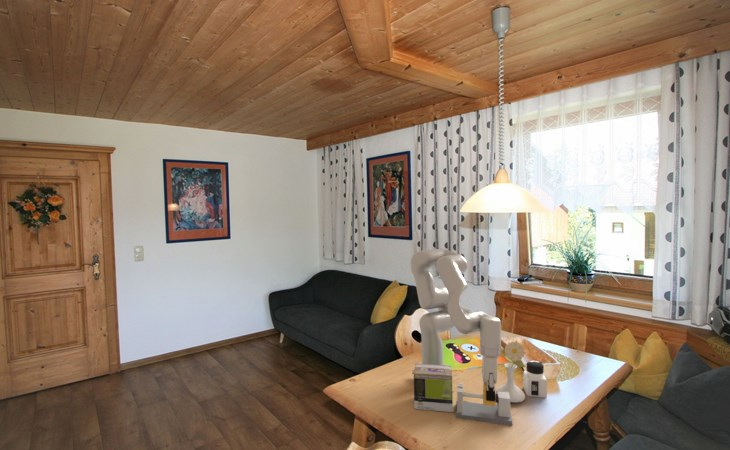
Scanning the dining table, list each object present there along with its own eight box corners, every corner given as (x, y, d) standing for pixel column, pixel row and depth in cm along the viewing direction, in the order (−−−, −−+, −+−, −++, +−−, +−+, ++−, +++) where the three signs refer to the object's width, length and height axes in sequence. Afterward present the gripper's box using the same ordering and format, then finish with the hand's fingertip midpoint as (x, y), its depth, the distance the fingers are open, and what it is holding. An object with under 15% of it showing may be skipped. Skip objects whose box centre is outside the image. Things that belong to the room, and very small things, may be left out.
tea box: (452, 400, 154) (452, 365, 153) (452, 413, 144) (452, 376, 144) (415, 396, 157) (415, 362, 156) (413, 409, 147) (413, 372, 147)
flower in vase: (489, 394, 158) (490, 336, 157) (510, 389, 163) (511, 332, 161) (513, 410, 146) (513, 347, 145) (534, 403, 151) (535, 342, 149)
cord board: (455, 417, 141) (455, 393, 141) (456, 404, 151) (456, 381, 150) (512, 425, 136) (512, 399, 136) (509, 410, 146) (509, 386, 145)
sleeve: (483, 404, 141) (483, 385, 141) (483, 399, 145) (483, 380, 145) (494, 406, 140) (494, 386, 140) (494, 400, 144) (494, 381, 144)
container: (546, 398, 155) (547, 367, 154) (527, 396, 156) (527, 366, 156) (542, 389, 162) (542, 359, 162) (523, 387, 164) (523, 358, 163)
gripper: (479, 341, 151) (479, 385, 152) (480, 358, 134) (480, 407, 135) (498, 342, 149) (498, 387, 150) (503, 360, 132) (502, 409, 133)
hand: (490, 396), depth 142 cm, fingers open, 5 cm apart
